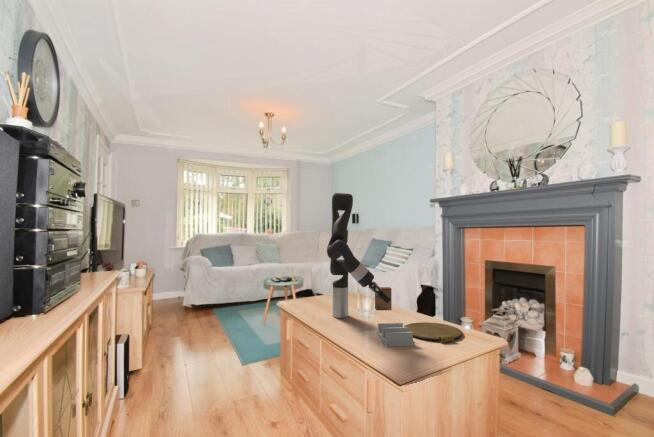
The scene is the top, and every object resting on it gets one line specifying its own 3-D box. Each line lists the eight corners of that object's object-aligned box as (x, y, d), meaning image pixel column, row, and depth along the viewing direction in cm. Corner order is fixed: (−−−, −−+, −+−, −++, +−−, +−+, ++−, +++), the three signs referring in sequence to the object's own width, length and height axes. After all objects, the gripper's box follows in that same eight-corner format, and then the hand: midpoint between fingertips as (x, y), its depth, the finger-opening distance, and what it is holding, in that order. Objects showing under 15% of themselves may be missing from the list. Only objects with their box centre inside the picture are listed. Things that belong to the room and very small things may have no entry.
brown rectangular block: (374, 308, 147) (374, 287, 148) (389, 308, 148) (389, 287, 148) (376, 310, 144) (376, 288, 144) (391, 310, 144) (391, 288, 145)
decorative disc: (439, 318, 175) (478, 333, 146) (439, 324, 175) (478, 340, 146) (392, 322, 167) (424, 339, 138) (392, 328, 167) (424, 347, 138)
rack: (376, 334, 154) (376, 322, 154) (402, 333, 155) (402, 322, 155) (386, 346, 138) (386, 334, 138) (414, 345, 139) (414, 333, 139)
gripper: (370, 271, 139) (397, 298, 139) (364, 267, 153) (389, 291, 154) (358, 283, 138) (385, 310, 139) (353, 278, 153) (378, 302, 153)
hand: (387, 300), depth 146 cm, fingers closed on brown rectangular block, 3 cm apart
